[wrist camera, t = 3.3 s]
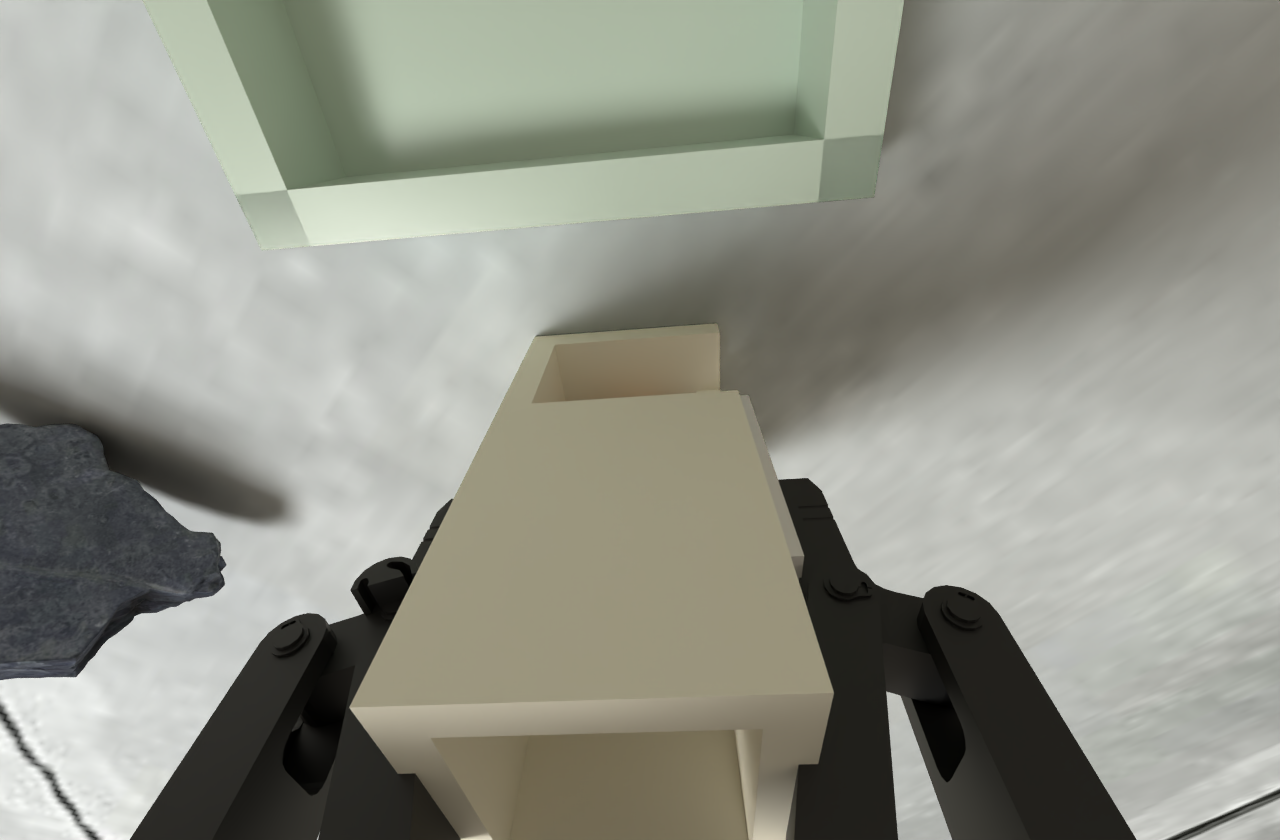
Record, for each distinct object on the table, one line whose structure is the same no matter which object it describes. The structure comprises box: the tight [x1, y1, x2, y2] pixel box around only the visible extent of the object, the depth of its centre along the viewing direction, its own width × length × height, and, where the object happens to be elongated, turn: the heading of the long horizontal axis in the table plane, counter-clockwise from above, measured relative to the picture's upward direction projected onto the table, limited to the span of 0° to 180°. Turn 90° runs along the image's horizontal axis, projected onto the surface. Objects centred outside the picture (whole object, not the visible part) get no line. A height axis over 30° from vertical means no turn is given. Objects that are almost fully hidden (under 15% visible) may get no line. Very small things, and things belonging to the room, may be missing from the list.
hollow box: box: [349, 323, 834, 840], centre depth 13 cm, size 6×6×12 cm
